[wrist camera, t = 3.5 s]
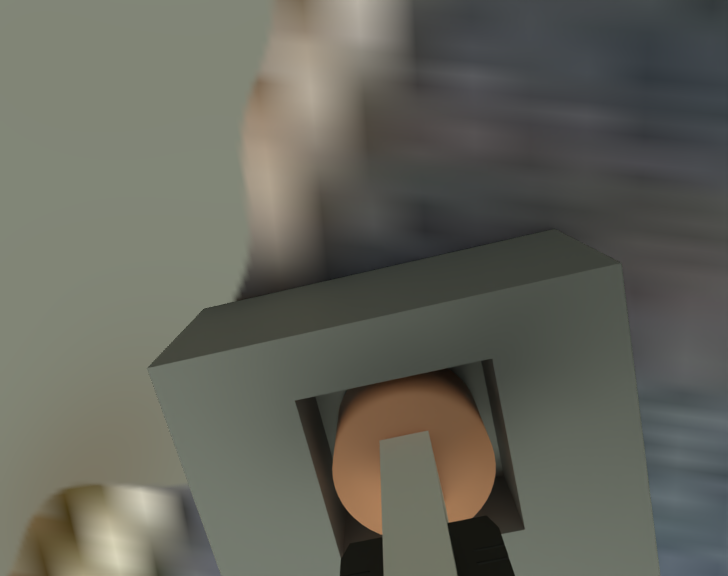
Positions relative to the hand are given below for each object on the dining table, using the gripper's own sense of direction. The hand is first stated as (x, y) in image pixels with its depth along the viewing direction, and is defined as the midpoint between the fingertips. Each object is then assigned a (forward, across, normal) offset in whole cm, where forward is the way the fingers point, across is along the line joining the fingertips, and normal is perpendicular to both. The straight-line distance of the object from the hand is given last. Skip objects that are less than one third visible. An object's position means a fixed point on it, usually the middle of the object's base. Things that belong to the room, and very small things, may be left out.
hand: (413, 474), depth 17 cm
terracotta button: (+3, 0, 0) cm, 3 cm away
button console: (+6, 0, +10) cm, 12 cm away
